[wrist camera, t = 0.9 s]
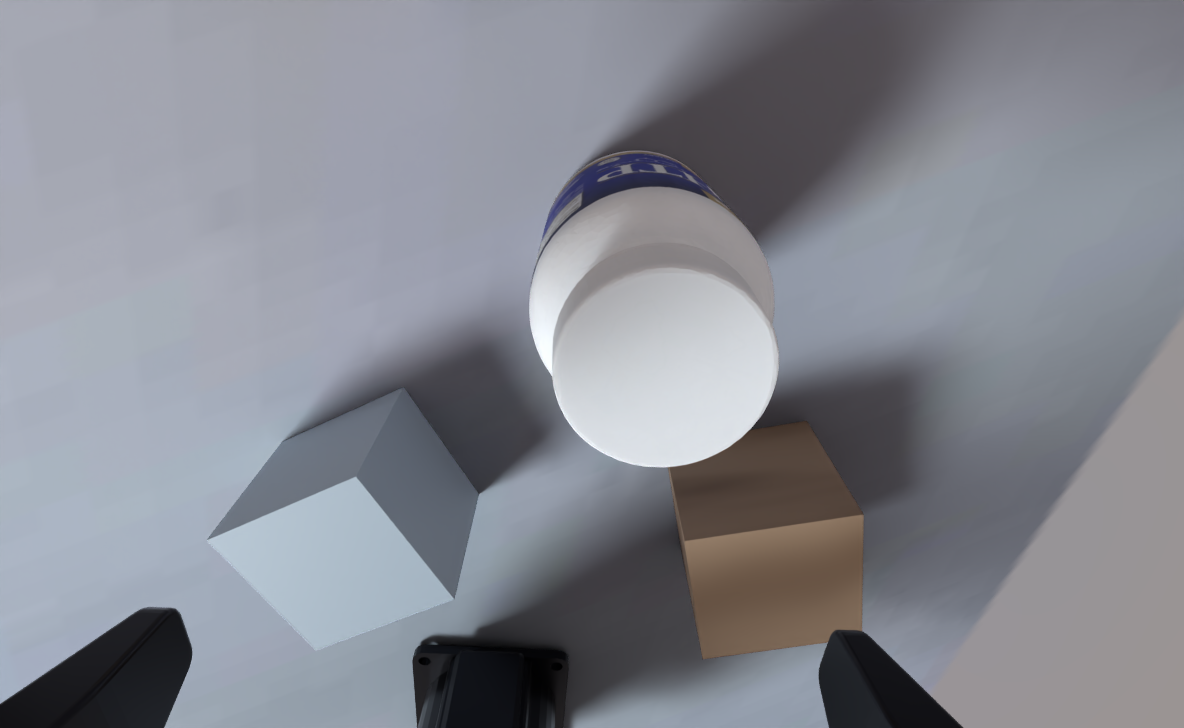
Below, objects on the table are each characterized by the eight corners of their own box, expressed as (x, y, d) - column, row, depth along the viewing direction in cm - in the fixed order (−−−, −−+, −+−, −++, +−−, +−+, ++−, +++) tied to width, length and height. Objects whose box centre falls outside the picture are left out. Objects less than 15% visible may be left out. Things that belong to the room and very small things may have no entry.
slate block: (479, 492, 23) (454, 599, 19) (365, 538, 24) (315, 650, 19) (404, 385, 21) (355, 476, 16) (283, 440, 22) (206, 540, 17)
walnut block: (809, 528, 24) (861, 637, 20) (680, 547, 24) (702, 659, 20) (805, 419, 22) (863, 514, 17) (664, 442, 22) (684, 541, 18)
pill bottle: (751, 187, 18) (883, 294, 10) (676, 341, 20) (737, 529, 12) (579, 118, 17) (577, 176, 9) (520, 287, 19) (478, 451, 11)
